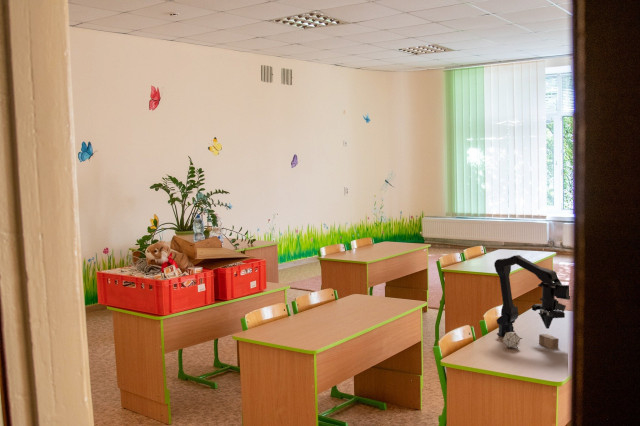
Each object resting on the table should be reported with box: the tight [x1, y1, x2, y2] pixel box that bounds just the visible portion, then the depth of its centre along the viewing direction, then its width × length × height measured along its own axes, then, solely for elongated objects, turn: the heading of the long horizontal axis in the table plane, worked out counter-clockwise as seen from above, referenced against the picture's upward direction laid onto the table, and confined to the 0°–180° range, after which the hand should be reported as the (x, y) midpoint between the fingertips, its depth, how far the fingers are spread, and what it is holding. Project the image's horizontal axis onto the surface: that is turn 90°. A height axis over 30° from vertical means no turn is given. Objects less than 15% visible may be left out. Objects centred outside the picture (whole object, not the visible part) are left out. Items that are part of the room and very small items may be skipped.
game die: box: [500, 330, 523, 350], centre depth 279 cm, size 9×8×10 cm
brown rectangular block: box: [538, 333, 560, 349], centre depth 283 cm, size 4×4×9 cm
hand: (547, 328), depth 284 cm, fingers closed
